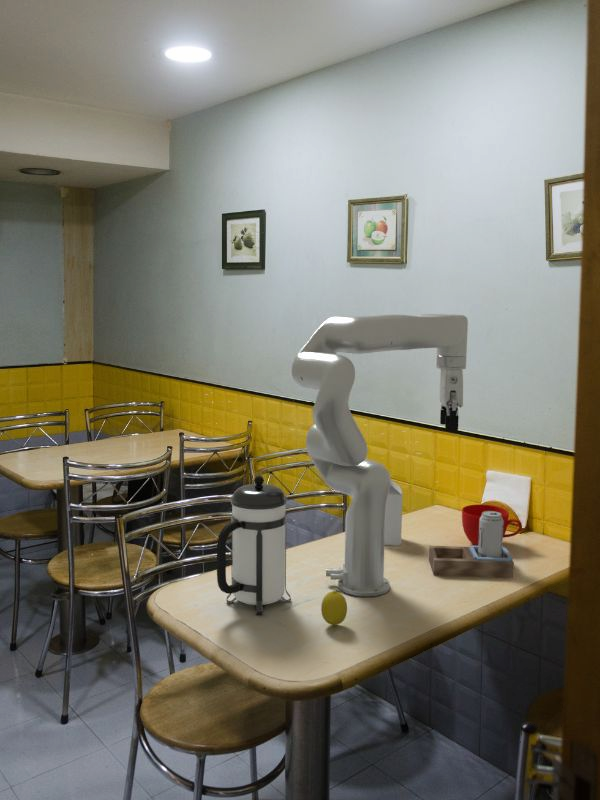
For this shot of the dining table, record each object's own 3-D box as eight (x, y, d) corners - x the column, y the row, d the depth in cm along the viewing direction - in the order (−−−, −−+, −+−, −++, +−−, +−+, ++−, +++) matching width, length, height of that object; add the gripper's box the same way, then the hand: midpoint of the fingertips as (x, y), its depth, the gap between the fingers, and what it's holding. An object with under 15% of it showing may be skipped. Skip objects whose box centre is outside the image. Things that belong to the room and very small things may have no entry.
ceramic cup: (514, 558, 201) (516, 522, 199) (454, 547, 209) (455, 512, 208) (526, 544, 212) (527, 510, 210) (468, 534, 220) (469, 502, 219)
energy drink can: (474, 565, 195) (476, 510, 193) (496, 564, 195) (499, 510, 193) (481, 573, 189) (483, 517, 187) (504, 573, 189) (507, 517, 187)
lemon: (319, 620, 161) (320, 586, 160) (345, 620, 161) (345, 585, 160) (322, 632, 156) (322, 596, 154) (348, 631, 156) (349, 595, 155)
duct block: (433, 575, 188) (434, 558, 187) (428, 559, 199) (429, 543, 198) (513, 577, 187) (514, 560, 186) (503, 562, 197) (504, 545, 197)
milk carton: (400, 538, 216) (402, 475, 213) (401, 546, 209) (402, 481, 206) (375, 537, 217) (377, 474, 214) (375, 545, 210) (377, 480, 207)
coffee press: (225, 588, 178) (224, 467, 174) (291, 589, 178) (292, 468, 174) (216, 620, 161) (215, 486, 156) (290, 621, 161) (291, 487, 156)
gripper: (471, 366, 182) (468, 434, 184) (460, 359, 199) (458, 422, 201) (441, 365, 182) (438, 433, 185) (432, 359, 199) (430, 421, 202)
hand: (448, 427), depth 193 cm, fingers open, 9 cm apart
